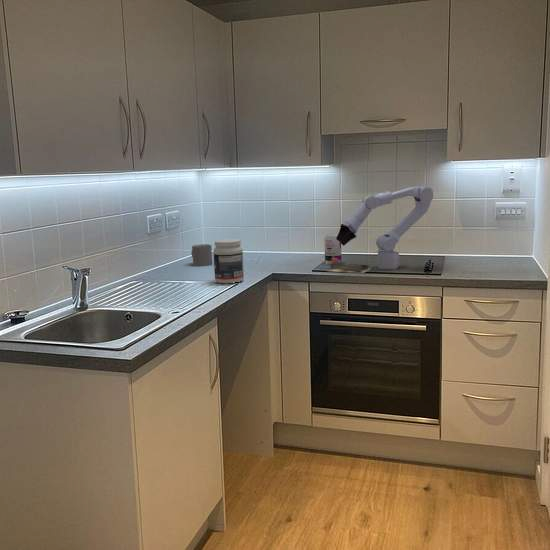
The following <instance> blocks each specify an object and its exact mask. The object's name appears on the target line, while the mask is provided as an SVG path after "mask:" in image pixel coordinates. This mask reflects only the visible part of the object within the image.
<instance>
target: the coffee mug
mask: <svg viewBox="0 0 550 550" xmlns="http://www.w3.org/2000/svg"><path fill="white" fill-rule="evenodd" d="M212 247H213V246H212V244H208V243H206V244H205V243H204V244H194V245H192V246H191V257H192V266H194V267H209V266H212V265H213V251H212V250H213V249H212Z"/></svg>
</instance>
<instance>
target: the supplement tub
mask: <svg viewBox="0 0 550 550" xmlns="http://www.w3.org/2000/svg"><path fill="white" fill-rule="evenodd" d="M213 244H214V248H213V251H212V254H213V267H214V281H215V282H216V283H217V282H219V283H218V284H220V283H233V282H239V283H241V282H243V281H244V279H245V275H244V252H243V251H244V250H243V247H242V246H241V244H242V242H241V239H238V238H223V239H217V240H214V243H213ZM240 281H241V282H240Z"/></svg>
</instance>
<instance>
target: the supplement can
mask: <svg viewBox="0 0 550 550" xmlns="http://www.w3.org/2000/svg"><path fill="white" fill-rule="evenodd" d="M337 236H338V234H326V235H325V237H324V264H325V265H327V266H328V265H330V266H331V264H332V258H338V262H342V258H343V257H342V244H341V243H340V242H341V241H340V242H339V241H338V240H337V239H336V238H337ZM342 263H343V262H342Z"/></svg>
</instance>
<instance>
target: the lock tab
mask: <svg viewBox="0 0 550 550" xmlns="http://www.w3.org/2000/svg"><path fill="white" fill-rule="evenodd" d="M332 263H338V258H332Z"/></svg>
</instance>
